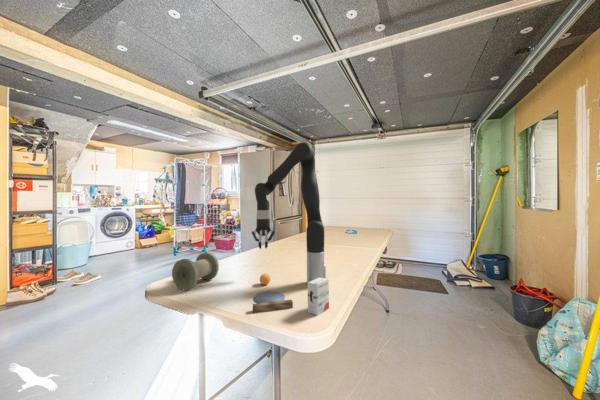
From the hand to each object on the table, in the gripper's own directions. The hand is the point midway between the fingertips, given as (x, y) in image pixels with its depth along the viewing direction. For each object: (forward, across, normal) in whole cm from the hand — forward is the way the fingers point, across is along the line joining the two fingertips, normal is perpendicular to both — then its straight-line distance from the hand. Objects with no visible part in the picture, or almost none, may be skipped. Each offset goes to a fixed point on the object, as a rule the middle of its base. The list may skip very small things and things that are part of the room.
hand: (263, 248), depth 126 cm
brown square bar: (+17, 0, -38) cm, 42 cm away
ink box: (+17, +18, -44) cm, 50 cm away
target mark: (+17, 0, -27) cm, 32 cm away
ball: (+14, 0, -10) cm, 17 cm away
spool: (+17, -35, 0) cm, 39 cm away
